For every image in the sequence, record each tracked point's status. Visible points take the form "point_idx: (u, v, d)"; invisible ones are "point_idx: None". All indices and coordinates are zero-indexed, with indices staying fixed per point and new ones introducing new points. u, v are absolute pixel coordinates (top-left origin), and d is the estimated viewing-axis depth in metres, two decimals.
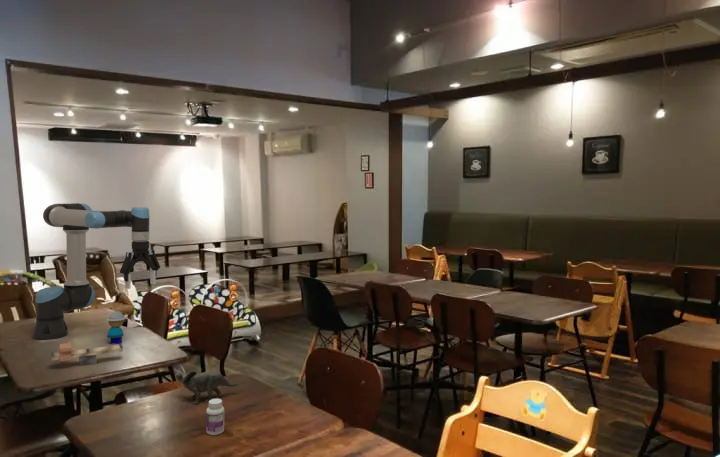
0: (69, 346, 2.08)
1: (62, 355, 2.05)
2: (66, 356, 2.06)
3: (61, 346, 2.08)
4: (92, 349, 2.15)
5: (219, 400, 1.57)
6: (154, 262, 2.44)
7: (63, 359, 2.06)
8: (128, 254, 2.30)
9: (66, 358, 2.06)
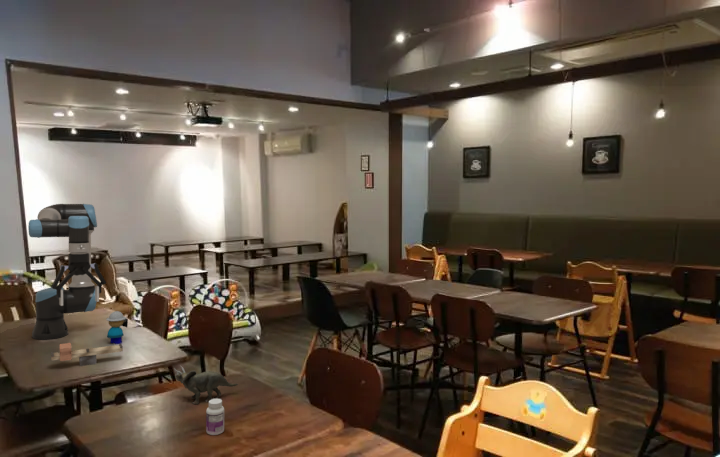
0: (69, 346, 2.08)
1: (62, 355, 2.05)
2: (66, 356, 2.06)
3: (61, 346, 2.08)
4: (92, 349, 2.15)
5: (219, 400, 1.57)
6: (99, 277, 2.19)
7: (63, 359, 2.06)
8: (61, 267, 2.09)
9: (66, 358, 2.06)
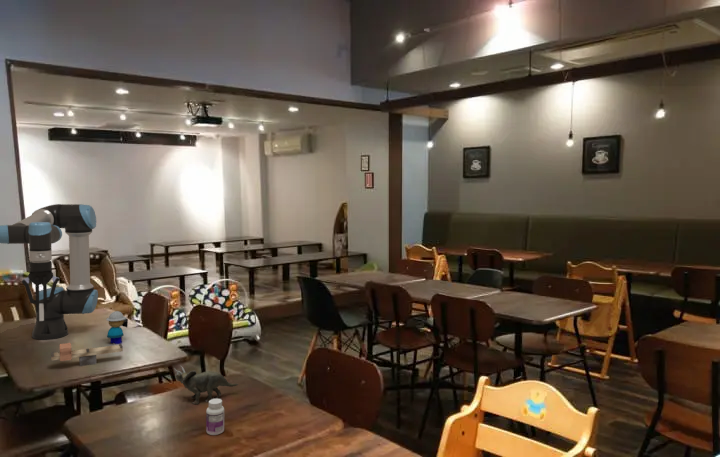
0: (69, 346, 2.08)
1: (62, 355, 2.05)
2: (66, 356, 2.06)
3: (61, 346, 2.08)
4: (92, 349, 2.15)
5: (219, 400, 1.57)
6: (50, 292, 2.04)
7: (63, 359, 2.06)
8: (22, 282, 1.99)
9: (66, 358, 2.06)
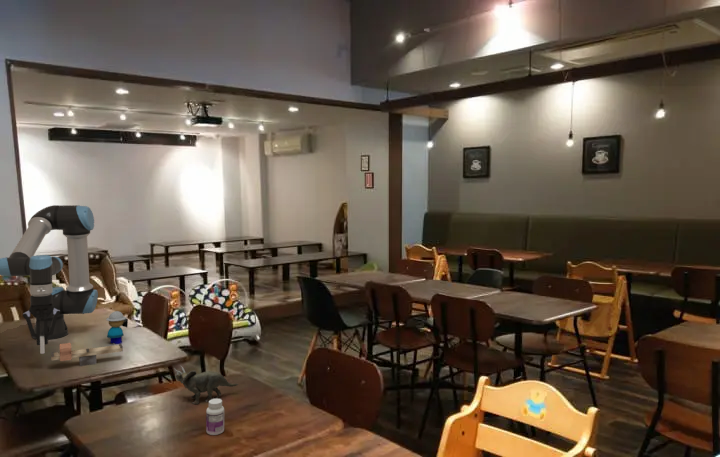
0: (69, 346, 2.08)
1: (62, 355, 2.05)
2: (66, 356, 2.06)
3: (61, 346, 2.08)
4: (92, 349, 2.15)
5: (219, 400, 1.57)
6: (51, 325, 2.05)
7: (63, 359, 2.06)
8: (23, 316, 2.00)
9: (66, 358, 2.06)
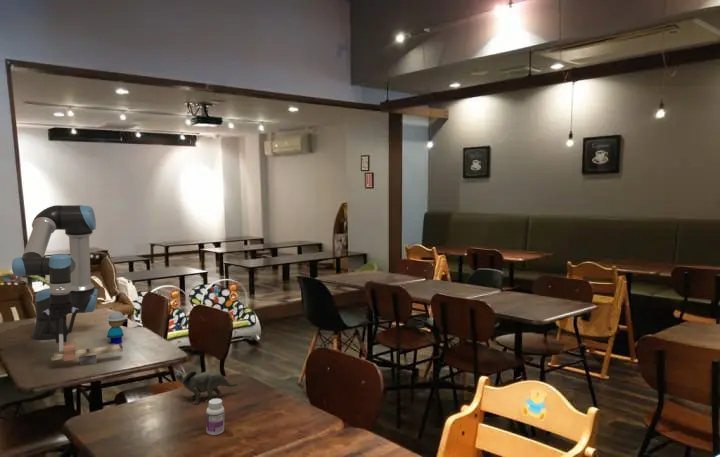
0: (72, 345, 2.09)
1: (66, 355, 2.06)
2: (70, 356, 2.07)
3: (64, 345, 2.09)
4: (92, 349, 2.15)
5: (219, 400, 1.57)
6: (70, 323, 2.09)
7: (67, 359, 2.06)
8: (43, 314, 2.03)
9: (70, 358, 2.07)
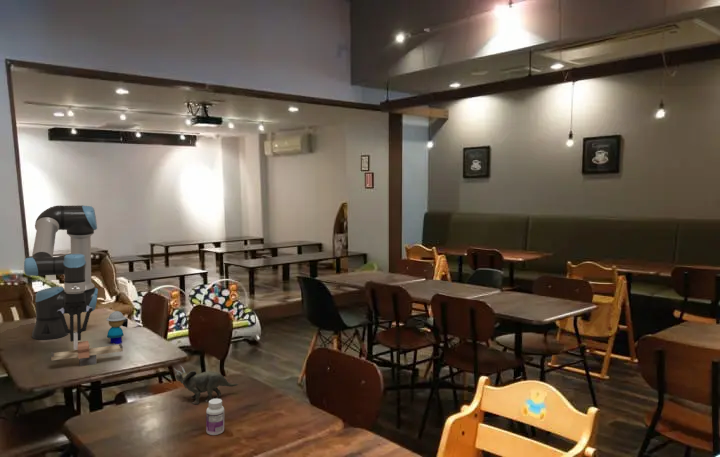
0: (87, 344, 2.12)
1: (80, 353, 2.09)
2: (84, 354, 2.09)
3: (79, 343, 2.12)
4: (92, 349, 2.15)
5: (219, 400, 1.57)
6: (84, 321, 2.12)
7: (81, 357, 2.09)
8: (58, 313, 2.06)
9: (84, 356, 2.09)
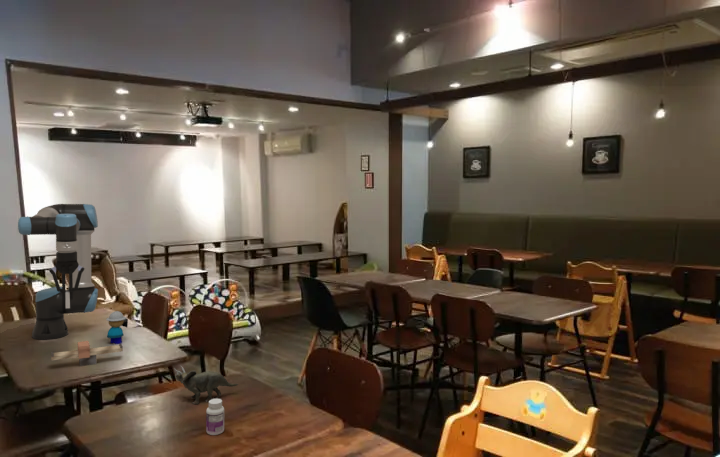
0: (87, 344, 2.12)
1: (80, 353, 2.09)
2: (84, 354, 2.09)
3: (79, 343, 2.12)
4: (92, 349, 2.15)
5: (219, 400, 1.57)
6: (76, 281, 2.14)
7: (82, 357, 2.09)
8: (50, 272, 2.08)
9: (84, 356, 2.09)
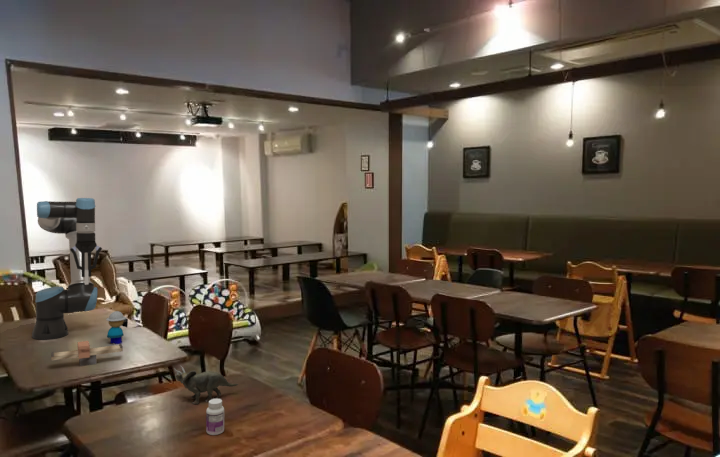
0: (87, 344, 2.12)
1: (80, 353, 2.09)
2: (84, 354, 2.09)
3: (79, 343, 2.12)
4: (92, 349, 2.15)
5: (219, 400, 1.57)
6: (94, 259, 2.33)
7: (82, 357, 2.09)
8: (70, 250, 2.28)
9: (84, 356, 2.09)
